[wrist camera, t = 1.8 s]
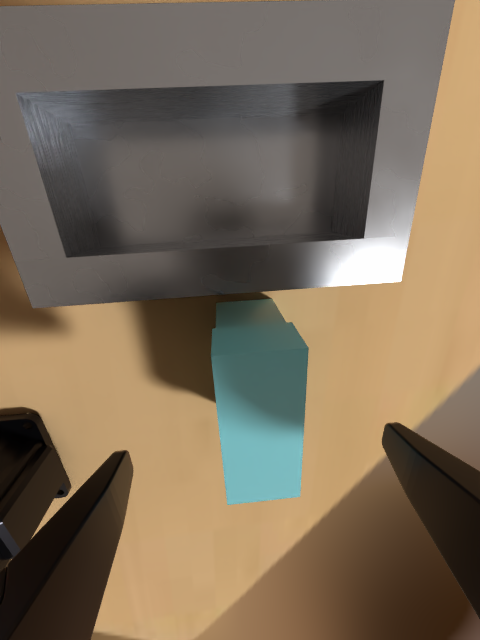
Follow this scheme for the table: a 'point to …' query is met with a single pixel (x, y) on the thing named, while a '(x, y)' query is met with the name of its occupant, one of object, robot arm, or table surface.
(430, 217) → the table surface
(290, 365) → the light blue rectangular block
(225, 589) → the table surface
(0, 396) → the table surface
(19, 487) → the robot arm
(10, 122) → the grey slotted tray
